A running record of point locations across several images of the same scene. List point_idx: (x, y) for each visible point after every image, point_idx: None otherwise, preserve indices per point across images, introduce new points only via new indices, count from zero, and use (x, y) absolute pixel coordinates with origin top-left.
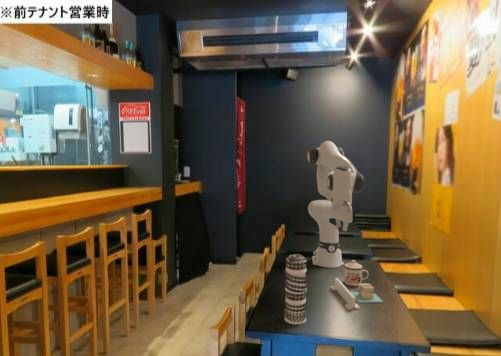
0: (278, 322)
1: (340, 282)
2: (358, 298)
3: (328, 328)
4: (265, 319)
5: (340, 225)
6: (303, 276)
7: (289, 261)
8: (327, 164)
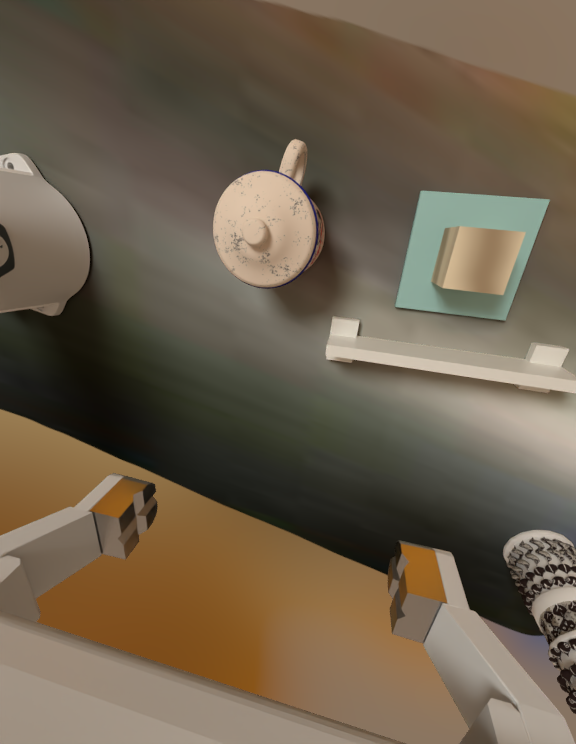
0: None
1: (386, 358)
2: (474, 304)
3: None
4: (504, 604)
5: (134, 497)
6: None
7: None
8: None
